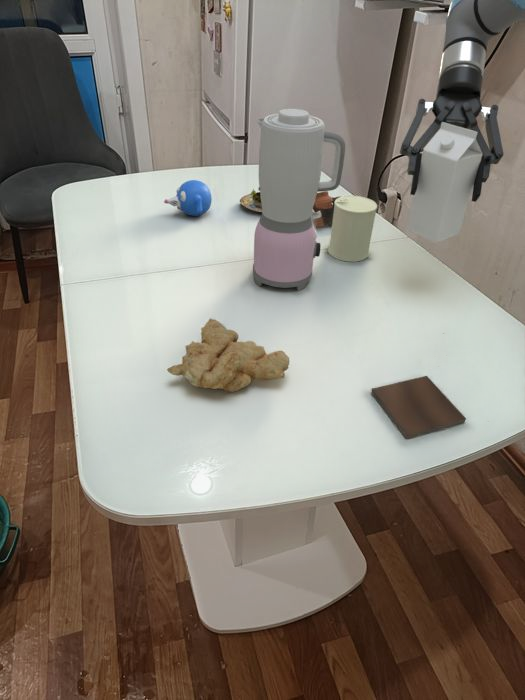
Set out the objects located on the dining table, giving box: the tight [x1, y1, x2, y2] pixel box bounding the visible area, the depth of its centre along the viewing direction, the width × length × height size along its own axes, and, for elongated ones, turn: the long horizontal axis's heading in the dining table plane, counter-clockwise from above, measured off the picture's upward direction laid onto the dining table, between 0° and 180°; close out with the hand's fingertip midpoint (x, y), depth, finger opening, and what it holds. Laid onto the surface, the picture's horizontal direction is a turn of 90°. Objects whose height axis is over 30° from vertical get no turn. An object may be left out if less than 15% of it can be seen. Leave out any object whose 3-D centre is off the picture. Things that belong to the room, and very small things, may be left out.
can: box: [327, 195, 378, 263], centre depth 112 cm, size 9×9×12 cm
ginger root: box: [166, 318, 290, 393], centre depth 79 cm, size 16×16×8 cm
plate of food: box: [239, 186, 262, 213], centre depth 132 cm, size 12×12×8 cm
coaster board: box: [370, 375, 467, 440], centre depth 77 cm, size 10×10×1 cm
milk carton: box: [405, 122, 483, 244], centre depth 91 cm, size 7×7×19 cm
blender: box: [252, 108, 346, 291], centre depth 96 cm, size 16×12×32 cm
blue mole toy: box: [163, 179, 213, 217], centre depth 126 cm, size 12×12×8 cm
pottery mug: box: [312, 191, 341, 229], centre depth 128 cm, size 12×10×8 cm
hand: (444, 194), depth 89 cm, fingers closed on milk carton, 10 cm apart
